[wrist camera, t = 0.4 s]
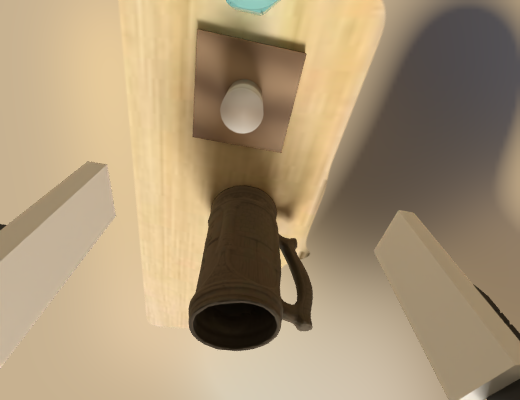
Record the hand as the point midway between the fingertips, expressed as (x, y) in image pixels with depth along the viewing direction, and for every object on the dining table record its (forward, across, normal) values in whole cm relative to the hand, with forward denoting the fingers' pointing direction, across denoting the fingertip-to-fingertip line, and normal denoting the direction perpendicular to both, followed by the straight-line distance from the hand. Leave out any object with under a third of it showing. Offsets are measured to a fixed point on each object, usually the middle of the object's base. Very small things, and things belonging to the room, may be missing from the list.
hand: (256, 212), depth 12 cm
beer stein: (+24, +3, -18) cm, 31 cm away
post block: (+24, -2, 0) cm, 24 cm away
